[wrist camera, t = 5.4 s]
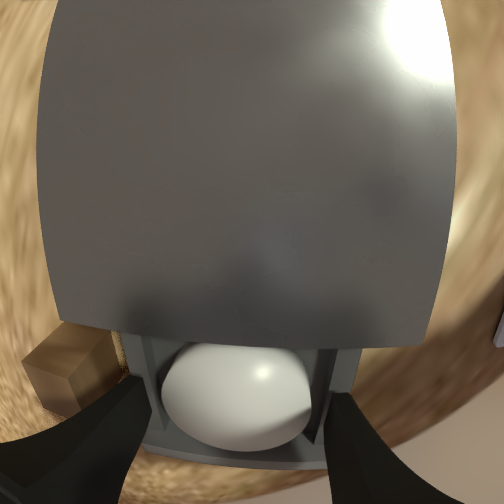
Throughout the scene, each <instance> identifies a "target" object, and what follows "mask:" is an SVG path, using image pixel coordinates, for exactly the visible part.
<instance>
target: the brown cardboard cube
mask: <svg viewBox="0 0 504 504" xmlns="http://www.w3.org/2000/svg"><path fill="white" fill-rule="evenodd" d="M21 362H22V364H23V367H24V369H25V371H26V373H27V375H28V378H29V380H30V382H31V384H32V386H33V388H34V390H35V392H36V394H37V396H38V397H39V399H40V401H41V403H42V405H43V407H44V408H45V409H47V410H50V411H52V412H54V413H57V414H59V415H61V416H64V417H66V418H70V417H72V416H74V415H75V414H77V413H78V412H80V411H81V410H83V409H84V408H86V407H87V406H89V405H90V404H92V403H93V402H94V401H96V400H97V399H98V398H100V397H101V396H102V395H104V394H105V393H106V392H108V391H109V390H110V389H112V388H113V387H114V386H115V385H117V383H118V382H119V380H120V379H121V377H122V372H121V369H120V366H119V362H118V359H117V355H116V351H115V347H114V344H113V340H112V336H111V332H110V330H106V329H101V328H96V327H90V326H85V325H80V324H76V323H71V322H66V321H65V322H64V323H62V324H61V325H60V326H59V327H58V328H57V329H56V330H55V331H53V332H52V333H51V334H50V335H49V336H48V337H47V338H46V339H45V340H44V341H42V342H41V343H40V344H39V345H38V346H37V347H36V348H35V349H34V350H33V351H32V352H31V353H30V354H28V355H27V356H26V357H25V358H24V359H23V360H22V361H21Z"/></svg>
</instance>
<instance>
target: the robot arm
mask: <svg viewBox="0 0 504 504" xmlns="http://www.w3.org/2000/svg"><path fill="white" fill-rule="evenodd" d="M493 344H494V345H495V346H496V347H498V348H499V347H504V312H503V315H502V318H501V321H500V323H499V326H498V329H497V331H496V334H495V336H494V340H493ZM151 414H152V408H151V405H150V402H149V398H148V395H147V391H146V387H145V384H144V380H143V377H138V376H133V375H128V376H127V377H126V378H124V379H123V380H122V381H121V382H119V383H118V384H117V385H115V386H114V387H113V388H112V389H110V390H109V391H108V392H106V393H105V394H104V395H102V396H101V397H100V398H98V399H97V400H96V401H94V402H93V403H92V404H90V405H89V406H87V407H86V408H84V409H83V410H81V411H80V412H78V413H77V414H75V415H74V416H72V417H70V418H69V419H67V420H65V421H63V422H61V423H59V424H58V425H56V426H54V427H51V428H49V429H47V430H44V431H42V432H39V433H37V434H34V435H32V436H29V437H25V438H22V439H18V440H14V441H10V442H5V443H0V504H118V500H119V496H120V493H121V489H122V486H123V483H124V480H125V477H126V475H127V472H128V470H129V468H130V466H131V463H132V461H133V459H134V457H135V455H136V453H137V451H138V449H139V446H140V444H141V442H142V440H143V438H144V436H145V433H146V431H147V428H148V425H149V421H150V418H151ZM323 433H324V451H325V457H326V463H327V469H328V475H329V481H330V487H331V494H332V503H333V504H464V503H462V502H460V501H457V500H455V499H453V498H451V497H449V496H447V495H446V494H444V493H442V492H441V491H439V490H437V489H436V488H434V487H433V486H432V485H430V484H429V483H427V482H426V481H425V480H423V479H422V478H420V477H419V476H418V475H417V474H415V473H414V472H413V471H412V470H411V469H410V468H408V467H407V466H406V465H405V464H404V463H403V462H402V461H401V460H400V459H399V458H398V457H397V456H396V455H395V454H394V453H393V452H392V451H391V449H390V448H389V447H388V446H387V445H386V444H385V442H384V441H383V440H382V439H381V438H380V436H379V435H378V434H377V432H376V431H375V430H374V429H373V427H372V426H371V425H370V423H369V422H368V420H367V419H366V418H365V416H364V415H363V413H362V412H361V410H360V409H359V407H358V406H357V404H356V403H355V401H354V399H353V398H352V396H351V395H350V394H349V393H348V392H344V393H332V397H331V401H330V404H329V408H328V411H327V415H326V418H325V422H324V425H323Z"/></svg>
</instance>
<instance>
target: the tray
mask: <svg viewBox="0 0 504 504" xmlns="http://www.w3.org/2000/svg"><path fill="white" fill-rule="evenodd" d="M120 336H121V340H122V344H123V349H124V353H125V356H126V360H127V364H128V368H129V371H130V375H133V376H138V377H143V380H144V384H145V387H146V391H147V395H148V398H149V402H150V405H151V408H152V414H151V418H150V421H149V425H148V429H147V431H146V433H145V436H144V438H143V440H142V442H141V443H142V446H143V448H144V450H145V452H149V453H153V454H157V455H161V456H166V457H171V458H176V459H181V460H186V461H192V462H198V463H204V464H211V465H219V466H228V467H238V468H250V469H269V470H315V469H327V463H326V457H325V451H324V433H323V425H324V422H325V418H326V415H327V411H328V408H329V404H330V401H331V397H332V393H344V392H348V393H349V394H350V392H351V389H352V385H353V382H354V378H355V375H356V371H357V368H358V364H359V361H360V357H361V353H362V349H363V348H359V349H293V350H294V351H295V352H296V353H297V354H298V355H299V357H300V358H301V359H302V361H303V363H304V365H305V367H306V369H307V373H308V379H309V388H310V398H311V408H312V409H311V416H310V419H309V421H308V423H307V425H306V427H305V428H304V429H303V430H302V432H301V433H300V434H298V435H297V436H296V437H295V438H293V439H292V440H290V441H288V442H287V443H285V444H282V445H280V446H277V447H274V448H271V449H266V450H261V451H247V452H244V451H232V450H225V449H221V448H217V447H213V446H210V445H208V444H205V443H203V442H201V441H198V440H196V439H195V438H193V437H191V436H190V435H188V434H187V433H185V432H184V431H183V430H181V429H180V428H179V427H178V426H177V425H176V424H175V423H174V422H173V421H172V419H171V418H170V417H169V415H168V414H167V412H166V410H165V408H164V405H163V402H162V386H163V383H164V381H165V379H166V376H167V374H168V372H169V370H170V368H171V366H172V364H173V362H174V360H175V358H176V356H177V354H178V352H179V351H180V350H181V348H182V347H183V346H184V345H185V344H186V343H187V342H189V341H180V340H172V339H164V338H157V337H149V336H143V335H136V334H130V333H123V332H120Z"/></svg>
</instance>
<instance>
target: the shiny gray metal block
mask: <svg viewBox="0 0 504 504" xmlns="http://www.w3.org/2000/svg"><path fill="white" fill-rule="evenodd" d="M456 151H457V122H456V99H455V86H454V76H453V67H452V60H451V53H450V46H449V41H448V35H447V30H446V25H445V20H444V16H443V12H442V8H441V4H440V0H58V3H57V6H56V10H55V13H54V17H53V21H52V25H51V29H50V33H49V38H48V42H47V47H46V52H45V58H44V64H43V70H42V77H41V84H40V93H39V103H38V117H37V142H36V162H37V188H38V201H39V212H40V221H41V229H42V237H43V243H44V250H45V256H46V261H47V267H48V272H49V276H50V281H51V286H52V290H53V294H54V298H55V302H56V306H57V310H58V314H59V317H60V320H62V321H66V322H71V323H76V324H80V325H85V326H90V327H96V328H101V329H106V330H112V331H118V332H123V333H130V334H136V335H143V336H149V337H157V338H164V339H172V340H180V341H189V342H198V343H209V344H220V345H233V346H247V347H265V348H291V349H359V348H385V347H402V346H415V345H422V342H423V339H424V336H425V333H426V329H427V326H428V323H429V320H430V316H431V313H432V309H433V306H434V302H435V298H436V294H437V290H438V286H439V282H440V278H441V273H442V269H443V264H444V259H445V254H446V248H447V243H448V237H449V230H450V223H451V216H452V208H453V198H454V188H455V174H456Z"/></svg>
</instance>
